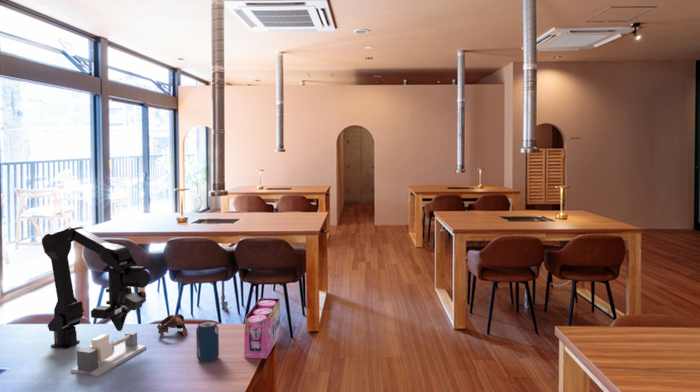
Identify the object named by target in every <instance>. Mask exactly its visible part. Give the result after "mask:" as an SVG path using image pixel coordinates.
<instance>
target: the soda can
mask: <svg viewBox="0 0 700 392" xmlns="http://www.w3.org/2000/svg"><path fill="white" fill-rule="evenodd" d="M195 332H196V334H195V335H196V337H195V338H196V339H195V340H196V358H197V360H198V361H199V362H200V363H203V364H204V363H205V364H209V363H212V362H215V361H216V360H217V359H218V358H219V355H220V346H219V345H220V344H219V341H220V339H219V334H220V333H219V326H218V324H217V322H216V321H215V320H203V321H200V322H198V323H197V327H196V331H195Z"/></svg>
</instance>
